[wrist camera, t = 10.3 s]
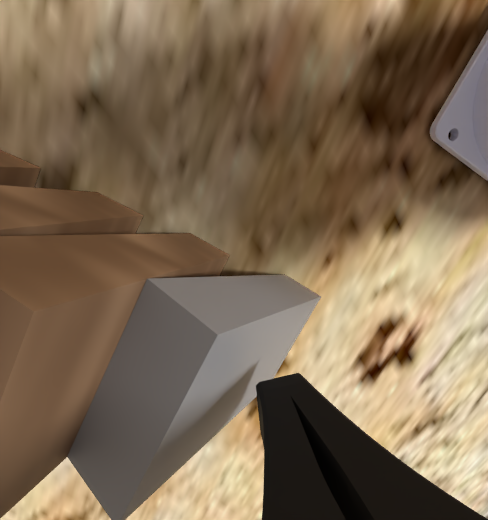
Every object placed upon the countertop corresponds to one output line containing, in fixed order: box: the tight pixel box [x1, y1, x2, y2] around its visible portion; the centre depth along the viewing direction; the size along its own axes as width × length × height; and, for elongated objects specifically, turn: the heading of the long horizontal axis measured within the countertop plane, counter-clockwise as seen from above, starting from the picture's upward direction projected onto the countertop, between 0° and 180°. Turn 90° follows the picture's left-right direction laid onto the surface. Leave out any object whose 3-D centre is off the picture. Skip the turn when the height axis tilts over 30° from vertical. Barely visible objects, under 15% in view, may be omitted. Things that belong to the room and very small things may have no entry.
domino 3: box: [67, 274, 321, 520], centre depth 10 cm, size 2×5×9 cm
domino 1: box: [0, 185, 143, 236], centre depth 8 cm, size 2×5×9 cm, turn 153°
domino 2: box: [0, 233, 230, 518], centre depth 9 cm, size 2×5×9 cm, turn 153°
